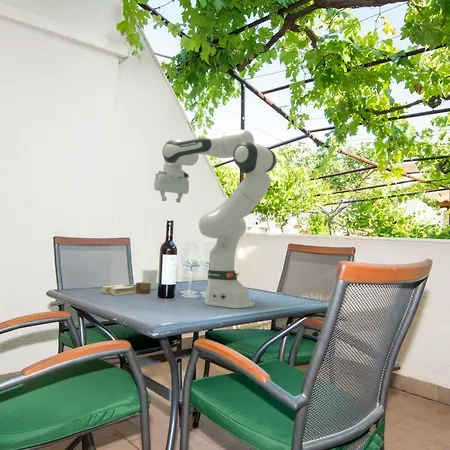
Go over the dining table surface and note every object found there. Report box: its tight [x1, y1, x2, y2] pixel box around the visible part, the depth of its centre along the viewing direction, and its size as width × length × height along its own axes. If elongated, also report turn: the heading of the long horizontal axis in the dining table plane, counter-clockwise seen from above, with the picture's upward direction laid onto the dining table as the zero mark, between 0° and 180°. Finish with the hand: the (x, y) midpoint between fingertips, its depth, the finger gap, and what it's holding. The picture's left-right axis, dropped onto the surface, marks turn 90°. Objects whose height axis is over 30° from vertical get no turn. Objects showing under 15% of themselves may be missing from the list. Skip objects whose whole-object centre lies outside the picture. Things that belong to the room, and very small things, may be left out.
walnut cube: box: [135, 281, 151, 295], centre depth 204 cm, size 5×5×5 cm
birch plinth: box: [101, 284, 136, 296], centre depth 202 cm, size 11×11×3 cm
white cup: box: [142, 268, 159, 290], centre depth 220 cm, size 8×8×10 cm
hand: (171, 201), depth 204 cm, fingers open, 8 cm apart
